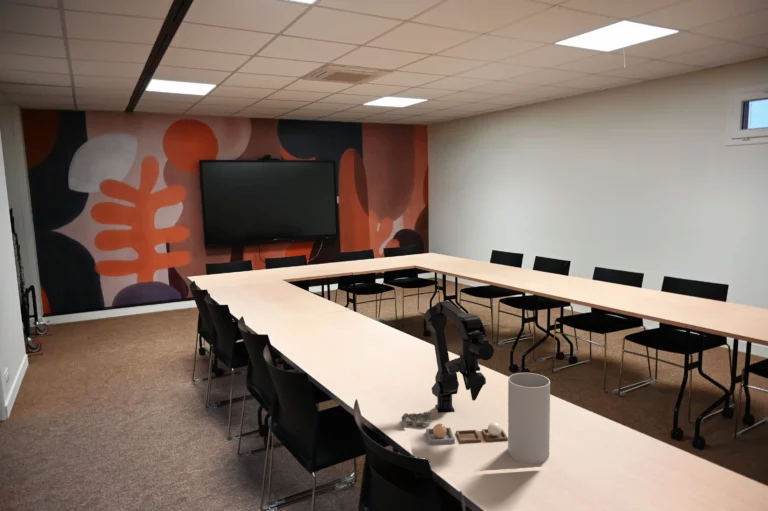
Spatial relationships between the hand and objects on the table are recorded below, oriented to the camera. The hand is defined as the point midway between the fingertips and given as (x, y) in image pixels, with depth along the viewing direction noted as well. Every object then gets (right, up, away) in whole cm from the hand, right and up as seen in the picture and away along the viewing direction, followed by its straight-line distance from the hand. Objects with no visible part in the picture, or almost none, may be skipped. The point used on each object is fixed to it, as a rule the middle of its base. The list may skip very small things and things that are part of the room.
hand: (470, 394), depth 175 cm
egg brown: (-11, -13, -5) cm, 18 cm away
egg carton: (-18, -13, +7) cm, 24 cm away
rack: (+3, -14, -5) cm, 15 cm away
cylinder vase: (+16, -15, -16) cm, 27 cm away
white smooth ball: (+7, -13, -5) cm, 15 cm away
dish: (-11, -14, -5) cm, 19 cm away
